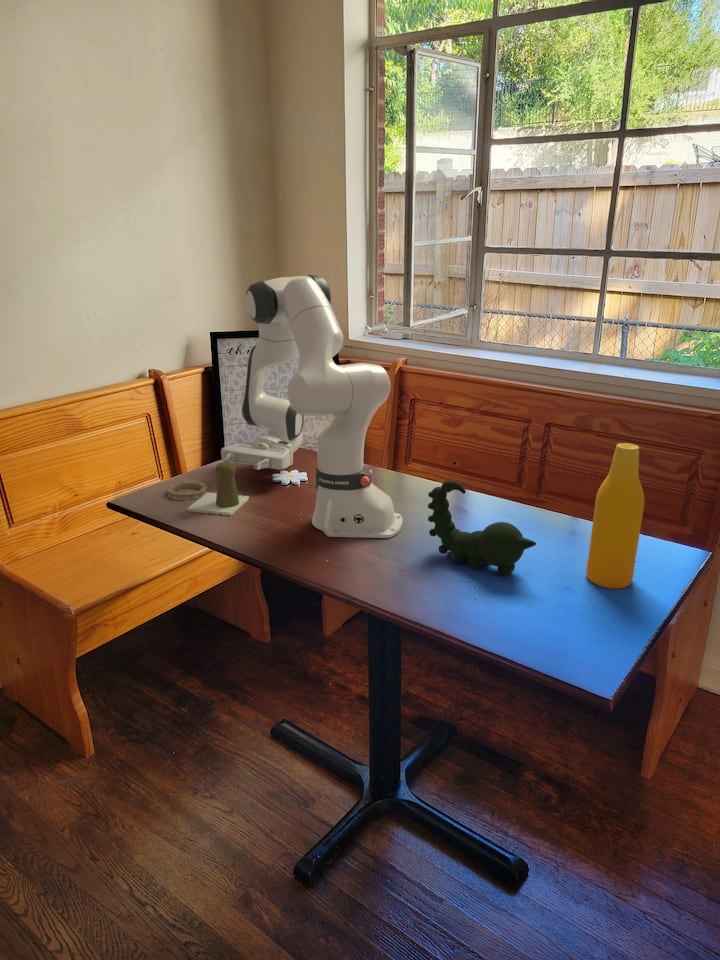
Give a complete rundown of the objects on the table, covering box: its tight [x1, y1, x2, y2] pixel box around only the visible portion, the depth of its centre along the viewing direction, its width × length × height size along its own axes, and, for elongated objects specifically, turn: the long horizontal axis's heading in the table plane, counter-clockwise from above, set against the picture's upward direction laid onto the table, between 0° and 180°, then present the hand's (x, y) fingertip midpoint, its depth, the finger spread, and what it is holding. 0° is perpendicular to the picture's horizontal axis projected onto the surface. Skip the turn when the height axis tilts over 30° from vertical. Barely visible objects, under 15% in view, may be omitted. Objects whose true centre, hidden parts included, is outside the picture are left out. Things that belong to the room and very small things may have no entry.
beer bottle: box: [585, 442, 645, 590], centre depth 139 cm, size 9×9×29 cm
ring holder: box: [167, 480, 209, 501], centre depth 189 cm, size 10×10×2 cm
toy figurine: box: [427, 479, 537, 576], centre depth 146 cm, size 9×19×25 cm
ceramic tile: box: [186, 491, 250, 517], centre depth 181 cm, size 12×12×1 cm
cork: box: [214, 461, 239, 508], centre depth 178 cm, size 6×6×11 cm
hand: (240, 464), depth 188 cm, fingers open, 8 cm apart
